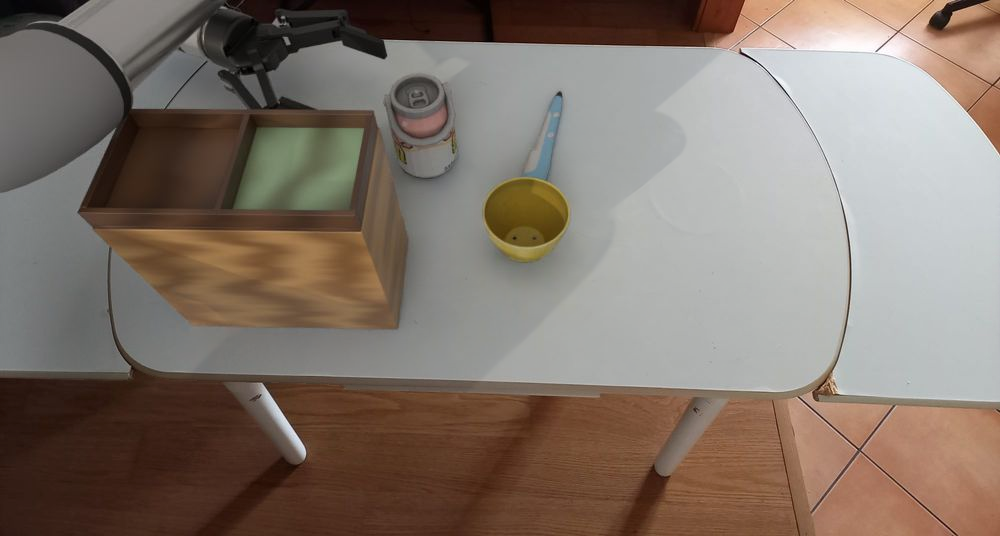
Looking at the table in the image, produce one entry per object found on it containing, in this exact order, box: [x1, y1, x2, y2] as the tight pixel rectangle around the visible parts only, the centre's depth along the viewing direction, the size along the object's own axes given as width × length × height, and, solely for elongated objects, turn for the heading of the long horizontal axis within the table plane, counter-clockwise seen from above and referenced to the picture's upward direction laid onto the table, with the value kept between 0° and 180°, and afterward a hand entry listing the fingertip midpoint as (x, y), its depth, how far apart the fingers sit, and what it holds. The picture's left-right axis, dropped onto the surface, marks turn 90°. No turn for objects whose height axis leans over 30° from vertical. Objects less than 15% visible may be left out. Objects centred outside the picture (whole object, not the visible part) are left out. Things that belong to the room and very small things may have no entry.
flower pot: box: [482, 176, 571, 263], centre depth 73 cm, size 10×10×7 cm
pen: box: [521, 90, 564, 181], centre depth 84 cm, size 19×3×3 cm, turn 166°
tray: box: [77, 108, 379, 232], centre depth 56 cm, size 24×12×2 cm, turn 89°
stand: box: [92, 127, 409, 330], centre depth 66 cm, size 24×12×20 cm, turn 89°
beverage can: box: [382, 72, 458, 179], centre depth 78 cm, size 9×8×12 cm
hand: (357, 85), depth 78 cm, fingers open, 13 cm apart
